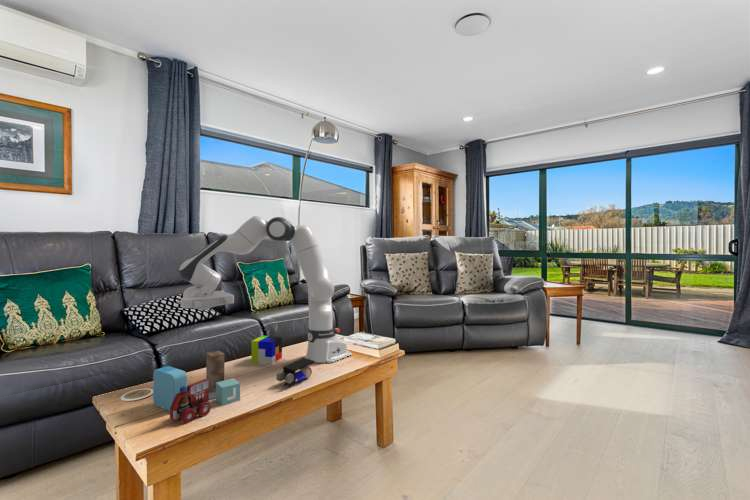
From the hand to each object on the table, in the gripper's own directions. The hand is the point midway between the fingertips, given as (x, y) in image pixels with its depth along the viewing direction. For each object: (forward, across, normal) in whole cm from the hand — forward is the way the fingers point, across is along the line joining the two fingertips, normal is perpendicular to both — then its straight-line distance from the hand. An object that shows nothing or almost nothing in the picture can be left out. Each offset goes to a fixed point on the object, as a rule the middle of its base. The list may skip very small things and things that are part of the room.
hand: (214, 303), depth 146 cm
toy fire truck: (+28, -17, +30) cm, 45 cm away
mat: (+12, -4, +30) cm, 33 cm away
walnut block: (+12, -4, +30) cm, 32 cm away
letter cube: (+24, -4, +30) cm, 39 cm away
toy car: (+25, +22, +30) cm, 45 cm away
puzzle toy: (-7, +26, +30) cm, 41 cm away
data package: (+16, -20, +30) cm, 40 cm away
